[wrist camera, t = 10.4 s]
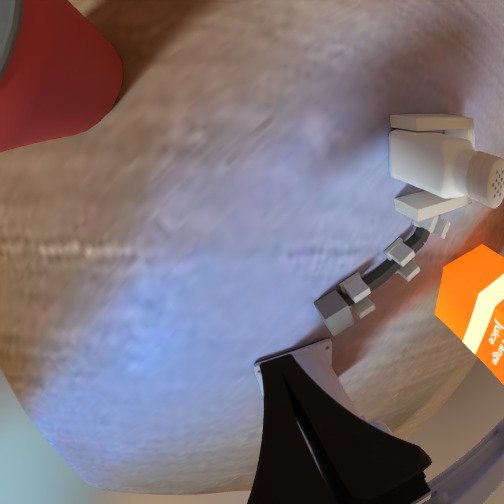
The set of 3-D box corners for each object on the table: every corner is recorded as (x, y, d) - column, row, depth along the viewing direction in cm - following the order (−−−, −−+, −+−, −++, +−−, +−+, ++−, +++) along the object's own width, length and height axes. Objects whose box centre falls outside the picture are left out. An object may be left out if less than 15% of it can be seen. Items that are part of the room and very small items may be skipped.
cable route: (439, 217, 24) (456, 226, 21) (324, 323, 25) (336, 339, 23) (432, 194, 22) (450, 202, 20) (309, 306, 24) (320, 323, 22)
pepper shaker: (386, 177, 20) (479, 220, 12) (385, 128, 18) (486, 151, 10) (419, 173, 21) (506, 210, 13) (419, 128, 19) (512, 151, 11)
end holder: (450, 193, 23) (471, 203, 20) (394, 209, 22) (417, 221, 19) (449, 114, 19) (473, 117, 16) (389, 114, 18) (415, 117, 15)
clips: (440, 223, 24) (455, 232, 22) (352, 312, 26) (364, 326, 24) (428, 192, 22) (445, 200, 20) (332, 289, 24) (344, 304, 22)
